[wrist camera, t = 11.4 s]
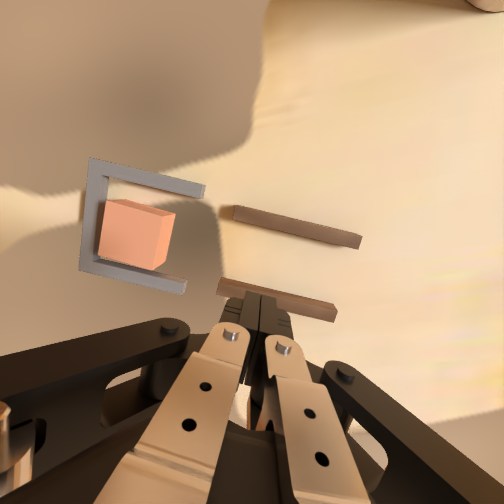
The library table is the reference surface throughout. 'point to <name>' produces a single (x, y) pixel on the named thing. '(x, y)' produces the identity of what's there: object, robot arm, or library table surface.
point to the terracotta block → (135, 233)
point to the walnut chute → (298, 228)
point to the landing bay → (95, 214)
